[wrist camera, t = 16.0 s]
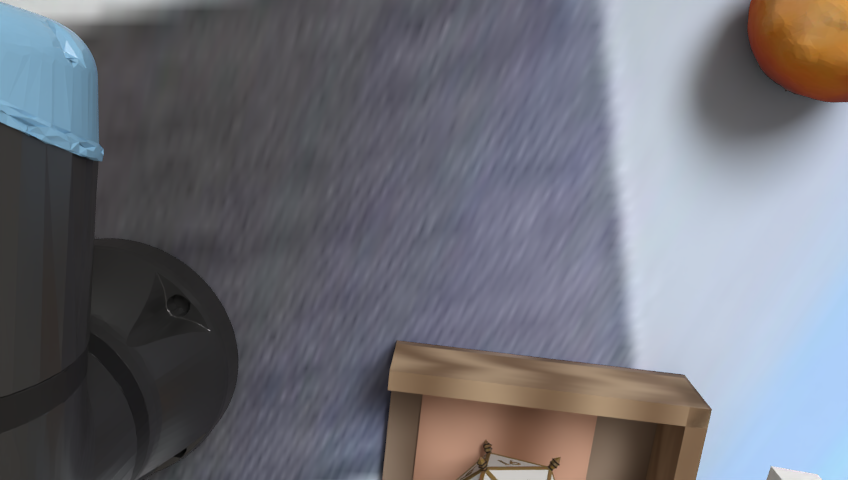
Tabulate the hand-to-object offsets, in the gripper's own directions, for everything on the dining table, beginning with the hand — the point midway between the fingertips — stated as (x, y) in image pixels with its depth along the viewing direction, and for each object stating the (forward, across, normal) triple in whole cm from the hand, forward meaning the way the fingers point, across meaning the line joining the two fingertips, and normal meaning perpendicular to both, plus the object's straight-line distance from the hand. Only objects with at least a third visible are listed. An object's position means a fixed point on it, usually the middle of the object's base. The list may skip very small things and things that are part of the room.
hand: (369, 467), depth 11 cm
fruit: (+29, +18, +13) cm, 36 cm away
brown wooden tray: (+28, +9, -17) cm, 34 cm away
